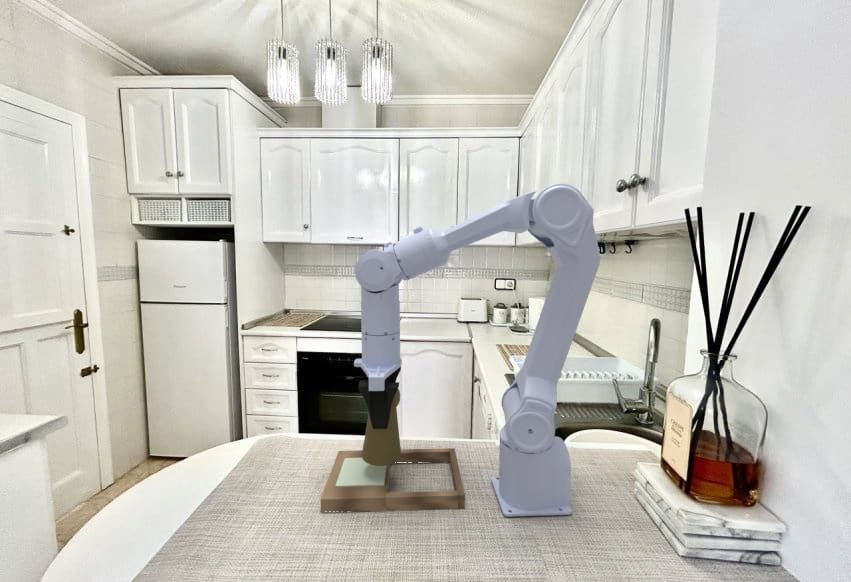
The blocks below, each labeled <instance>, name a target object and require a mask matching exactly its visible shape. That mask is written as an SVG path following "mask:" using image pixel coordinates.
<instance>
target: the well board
mask: <svg viewBox="0 0 851 582" xmlns="http://www.w3.org/2000/svg"><path fill="white" fill-rule="evenodd" d="M362 451H363V449H362V450H359V449H358V450H339V451H338V452H337V455H336V458H335V460H334V463H333V466H332V468H331V471H330V474H329V477H328V479H327V481H326V484H325V487H324V489H323V492H322V494H321V497H320V500H319V501H320V513H321V512H325V511H327V512H329V511H331V512H333V511H335V512H336V511H339V512H338V513H342V512H341V511H344V512H343V513H348V512H347V511H370V512H384V511H383V510H392V511H391V512H394V511H396V510H404V511H429V510H430V511H431V510H432V511H434V509H437V510H460V509H461V510H463V509H464V510H465V509H466V506H465V505H466V493H465V489H464V484H463V481H462V476H461V475H462V474H461V471H460V467H459V462H458V458H457V453H456V448H454V447H453V448H452V447H451V448H450V447H449V448H448V447H447V448H444V447H443V448H412V449H411V448H409V449H408V448H407V449H401V457H400V459H399V460H398V461H397V462H407V463H408V462H412V463H415V464H419V463H418V462H450V463H449V467H451V468H450V473H452V474H451V478H452V484H453V490H438V491H437V490H435V491H433V490H432V491H401V492H397V491H395V492H389V489H390V480H389V478H390V477H391V470H390V468H391V467H392V464H391V465H386V466H374V465H370V464H368V463H366V462H365V461H364V460H363V458H362ZM397 462H396V463H397ZM391 469H392V468H391ZM390 479H391V478H390ZM388 488H389V489H388ZM396 512H397V511H396Z"/></svg>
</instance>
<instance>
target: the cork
mask: <svg viewBox="0 0 851 582" xmlns="http://www.w3.org/2000/svg"><path fill="white" fill-rule="evenodd" d="M400 392H401V391H400V389H399V388H398V390H397V392H396V394H395V396H394V398H393V401H392V405H391V411H390V418H389V423H388V427H387V429H373V427H372V424H371V420H370V416H369V413H368V414H367V415H368V416H367V421H366V427H365V434H364V439H363V440H364V441H363V446H362V450H363V451H362V458H363V460H364V461H365V462H366V463H368V464H370V465H374V466H386V465H391V466H392V465H394V464H393V463H395V462H397V461H398V460H399V459H400V457H401V448H402V447H401V438H400V429H399V420H398V419H399V418H398V411H397V410H398V409H397V407H398V405H400V401H401V393H400Z"/></svg>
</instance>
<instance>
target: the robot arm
mask: <svg viewBox="0 0 851 582" xmlns="http://www.w3.org/2000/svg"><path fill="white" fill-rule="evenodd" d="M536 193H537V190H533V191H529V192H527V193H523V194H521V195H518V196H516V197H513V198H510V199H508V200H505V201H503V202H501V203H499V204H497V205H495V206H492V207H490V208H488V209H486V210H484V211H482V212H480V213H478V214H477V215H474V216H472V217H470V218H467V219H465V220H464V221H461V222H459V223H457V224H455V225H453V226H451V227H448V228H447V229H445V230H443V231H442V230H439V229H437V228H435V227H432V226H429V227H427V228H424V227H422V226H418V227H416V228H414V229H413V234H411V235H410V236H407V237H404V238H402V239H401V240H398V241H395V242H394V243H392V241H388V242H385V243H384V244H383V247H384V248H383V250H381V249H368V250H367V251H366V253H364V254H362V255H361V256H360V257H359V258H358V259H357V262H356V264H355V267H354V275H355V279H356V281H357V283H358V284H359V286H360V290H361V291H360V297H361V298H360V300H361V301H360V307H361V308H360V314H361V315H360V316H361V317H360V319H361V320H360V322H361V329H360V330H361V358H355V360H354V362H353V367H356V368H361V369H362V370H363V372H364V373H365V375H366V377H367V378H368V380H367V379H366V380H360V381H359V383H358V391H359V393H360V395H362V398H363V399H364V403H365V404H366V407H367V409H368V414H369V416H370V420H371V424H372V427H373V429H387V427H388V423H389V418H390V411H391V405H392V401H393V398H394V396H395V394H396V392H397V390H398V389H399V386H400V382H399V381H397V378H398V377H399V375H400V372H401V370H402V358H401V305H400V304H401V303H400V285H399V284H401V282H402V281H409V280H411V279H414V278H416V277H418V276H421V275H423V274H426V273H428V272H431V271H433V270H435V269H438V268H440V267H442V266H445V265H446V264H447V263H448V260H449V257H450V255H451V253H452V252H453V251H456V250H459V249H462V248H463V247H466V246H467V247H468V246H469V245H471V244H474V243H477V242H480V241H481V240H482V241H483V240H484V239H486V238H489V237H492V236H494V235H497V234H499V233H503V232H510V233H515V234H516V233H517V234H523V233H525V232H526V231H527V232H528V233H529V234H530V235H531V236H533V238H535V239H536V240H537V241H538V242H540V243H541V244H542V245H544V246H545V249H546V250H547V251H548V253H549V255H550V256H551V257H552V260H553V261H554V262H555V264H556V268H555V270H554V273H553V276H552V279H551V281H550V285H549V288H548V290H547V291H548V292H547V294H546V297H545V299H544V302H543V306H542V309H541V312H540V315H539V318H538V320H537V323H536V327H535V330H534V332H533V335H532V338H531V341H530V344H529V346H528V350H527V353H526V356H525V359H524V361H523V364H522V367H521V368H520V370H518V372H517V373H516V375H515V378H514V381H513V382H512V384H511V385H510V386H509V387H508V388H507V389H505V391H504V392H503V394H502V397H501V408H502V411H503V415H504V420H505V421H504V425H503V427H502V428H501V429H500V431H499V458H498V460H499V461H498V462H499V464H498V466H499V468H498V469H499V470H498V473H499V474H498V476H492V477H491V479H490V481H491V484H492V486H493V490H494V493H495V495H496V498H497V501H498V503H499V506H500V509H501V512H502V515H503V516H505V517H533V516H535V517H536V516H564V515H565V516H566V515H568V516H569V515H572V512H573V511H572V509H571V506H570V503H571V502H570V501H571V479H572V478H571V477H572V463H571V456H570V452H569V450H568V446H567V445H566V443H565V441H564V439H562V438H561V437H559V436H556V435H555V434H556V429H555V428H556V427H555V421H554V418H555V413H556V409H557V408H558V407H557V406H558V404H557V403H558V398H557V397H558V396H557V395H558V391H557V390H558V388H557V387H558V383H559V380H560V376H561V374H562V371H563V368H564V366H565V362H566V360H567V356H568V355H569V351H570V349H571V346H572V343H573V340H574V337H575V334H576V332H577V330H578V329H577V328H578V327H579V323H580V320H581V318H582V315H583V313H584V310H585V307H586V303H587V301H588V298H589V295H590V293H591V290H592V286H593V284H594V281H595V279H596V275H597V272H598V271H599V267H600V265H601V253H600V247H599V245H598V240H597V236H596V230H595V226H594V213H595V211H594V207H592V205H591V204H590V203H589V201H588V200H587V199H586V197H585V195H583V193H582V192H581V191H580V190H579V189H578V188H577V187H575V186H574V185H571V184H570V183H569V184H568V183H563V182H562V183H561V182H560V183H553V184H550V185H548V186H546V187H545V188H543V189H542V190H540V192H538V194H537V195H536V197H535V198H533V197H534V195H535V194H536ZM532 198H533V199H532Z"/></svg>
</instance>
